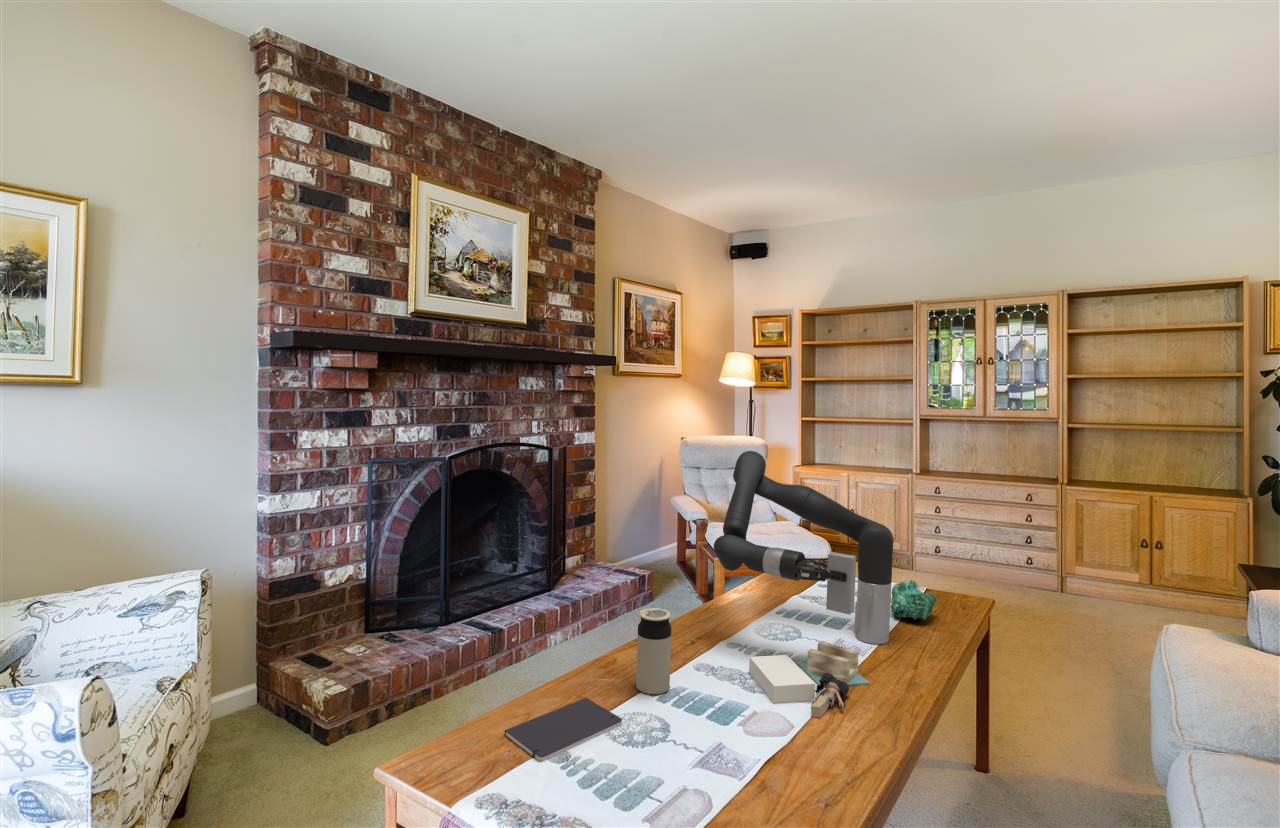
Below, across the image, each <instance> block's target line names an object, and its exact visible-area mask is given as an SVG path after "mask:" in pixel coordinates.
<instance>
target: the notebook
mask: <svg viewBox="0 0 1280 828" xmlns="http://www.w3.org/2000/svg"><path fill="white" fill-rule="evenodd" d="M622 722H623V719H622V718H621V717H620V716H618V715H616V714H614V713H613V712H611V711H609V710H608V709H606V708H604V707H603V706H601V705H599V704H597V703H596V702H594V701H592V700H591V699H589V698H588V697H584V698H582V699H579V700H577V701H574V702H572V703H569V704H567V705H564V706H561V707H559V708H557V709H554V710H552V711H550V712H547V713H544V714H542V715H539V716H537V717H534V718H532V719H529V720H527V721H523V722H522V723H519V724H517V725H514V726H512V727H510V728H507V729H505V730H504V736H506V737H508V738H509V739H511V740H512V741H513V742H514V743H515V744H517V745H518V746H520V747H521V748H522V749H523V750H525V751H526V752H527V753H528V754H530V755H531V756H532V758H535V759H536V760H538V761H540V762H544V761H547V760H548V759H551V758H553V757H555V756H558V755H560V754H562V753H564V752H566V751H568V750H570V749H572V748H575V747H577V746H579V745H583V743H585V742H588V741H590V740H591V739H594V738H597V737H599V736H600V735H603V734H605V733H607V732H610V731H612V730H614V729H616V728H617V727H620V726H621V725H622Z"/></svg>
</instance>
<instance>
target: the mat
mask: <svg viewBox="0 0 1280 828" xmlns="http://www.w3.org/2000/svg"><path fill="white" fill-rule="evenodd" d="M807 664H808V661H807V662H797V666H798V667H799V668H800V669H801V670H802V671H803V672H804V673H805V674H806V675H807V676H808V677H809V678H810V679H811V680H812V681H813V682H814V683H815V684H816V685H817V686H818V685H820V682H819V680H820V678H821V677H819V676H816V675H813V674H809V673H807ZM847 685H848V686H849V687H851V686H863V685H865V686H867V685H871V683H870V682H869V681H868V680H867V679H866V678H865V677H863V676H862V675H861V674H860V673H859V672H858V673H857V674H856V675H855V676H854V677H853V678H852V679H851V680H850V681H849V682H848V683H847Z"/></svg>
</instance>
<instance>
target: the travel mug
mask: <svg viewBox="0 0 1280 828" xmlns="http://www.w3.org/2000/svg"><path fill="white" fill-rule="evenodd" d="M671 614H672V613H671V612H670V611H668V610H667V609H664V608H659V607H650V608H644V609H641V610H640V611H639V615H638V616H640V617H639V618H640V621H639V623H638V625H637V642H636V643H637V647H636V674H635V675H636V676H635V677H636V679H635V682H636V683H635V687H636V688H637V690H638V691H640V692H642V693H644V694H647V695H661V694H663V693H666V692H667V691H669V690H670V685H671V684H670V682H671V658H672V657H671V649H672V626H671V623H670V618H671V616H672V615H671Z"/></svg>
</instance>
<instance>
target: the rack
mask: <svg viewBox="0 0 1280 828" xmlns="http://www.w3.org/2000/svg"><path fill="white" fill-rule="evenodd" d="M807 662H808V664H807V673H809V674H813V675H816V676H819V677H821V676H822V675H823V674H824V673H830V674H832V675H833V676H834V677H835V678H836V679H837V680H840V681H844V682H845V683H846V684H847V683H848V682H849V681H850V680H851V679H852V678H853V677H854V676H855V675H856V674H857V673H859V651H858V650H854V649H851V648H847V647H844V646H840V645H835V644H832V643H829V642H826V641H819V642H817V649H813V648H809V650H808V651H807ZM807 673H806V674H807Z"/></svg>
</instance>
